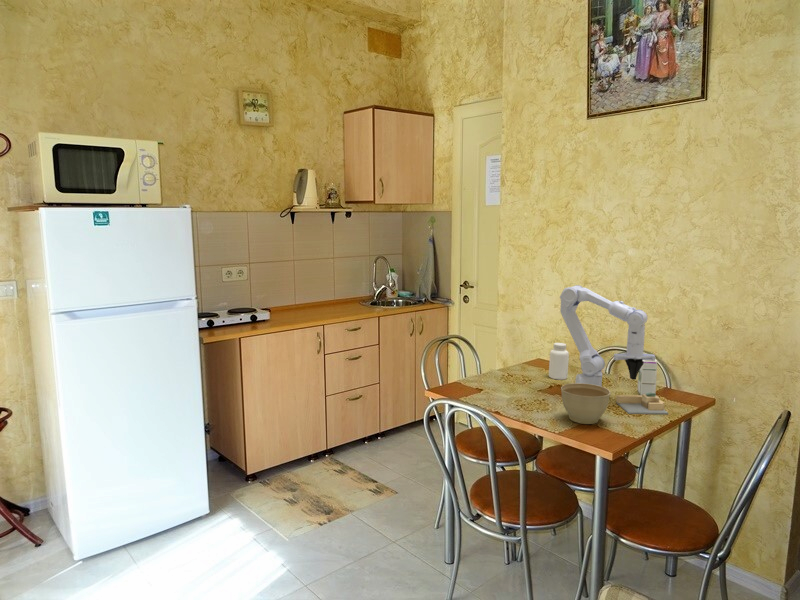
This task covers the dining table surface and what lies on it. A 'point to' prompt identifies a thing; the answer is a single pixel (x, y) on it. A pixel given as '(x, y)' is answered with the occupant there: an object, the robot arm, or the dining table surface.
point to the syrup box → (647, 377)
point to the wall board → (639, 405)
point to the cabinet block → (649, 399)
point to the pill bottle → (558, 362)
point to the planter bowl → (585, 402)
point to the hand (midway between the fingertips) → (632, 378)
